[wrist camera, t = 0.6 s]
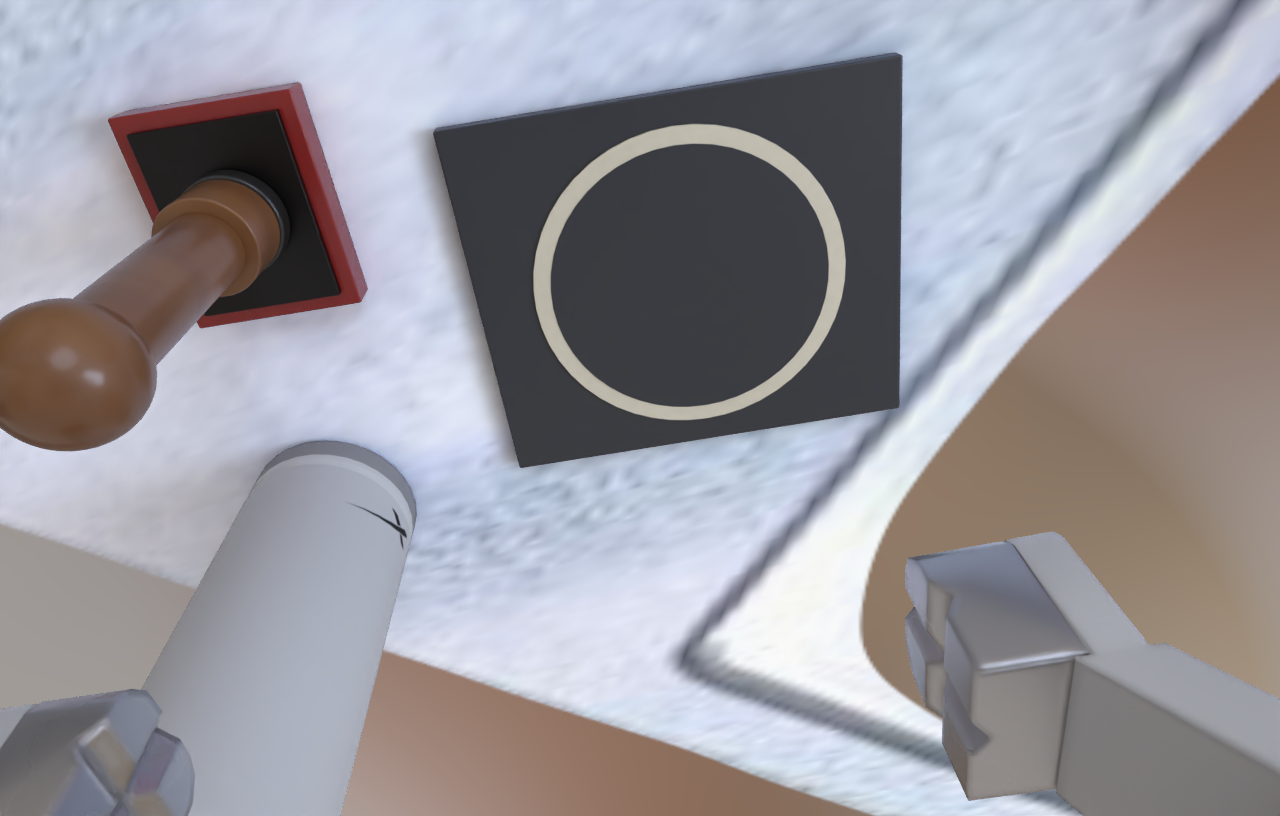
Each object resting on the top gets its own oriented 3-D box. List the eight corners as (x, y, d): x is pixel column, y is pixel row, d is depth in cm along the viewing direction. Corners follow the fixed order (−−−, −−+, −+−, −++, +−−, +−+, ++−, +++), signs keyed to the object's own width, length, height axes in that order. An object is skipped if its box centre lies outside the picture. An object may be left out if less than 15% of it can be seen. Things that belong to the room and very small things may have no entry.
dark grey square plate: (434, 127, 28) (431, 132, 27) (897, 51, 28) (904, 55, 27) (520, 460, 34) (519, 470, 34) (894, 400, 34) (900, 410, 33)
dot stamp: (167, 177, 26) (-100, 353, 16) (269, 160, 26) (70, 325, 16) (208, 274, 28) (-10, 492, 18) (305, 258, 28) (144, 468, 17)
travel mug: (436, 454, 34) (294, 1021, 17) (398, 578, 37) (245, 1169, 19) (271, 411, 32) (-73, 983, 15) (245, 544, 35) (-67, 1149, 18)
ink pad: (124, 110, 27) (101, 120, 26) (300, 81, 27) (287, 90, 25) (211, 315, 30) (196, 332, 29) (368, 289, 30) (359, 306, 29)
